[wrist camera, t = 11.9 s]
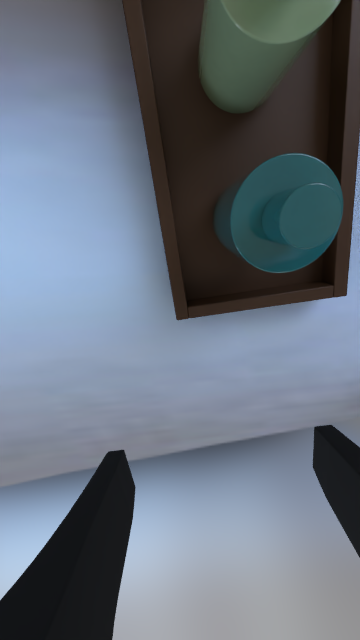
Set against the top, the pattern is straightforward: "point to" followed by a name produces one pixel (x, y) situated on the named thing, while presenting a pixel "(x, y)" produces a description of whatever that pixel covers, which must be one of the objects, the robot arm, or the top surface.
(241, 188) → the teal bottle
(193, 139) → the tray
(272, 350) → the top surface
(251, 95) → the green bottle middle
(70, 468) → the top surface
